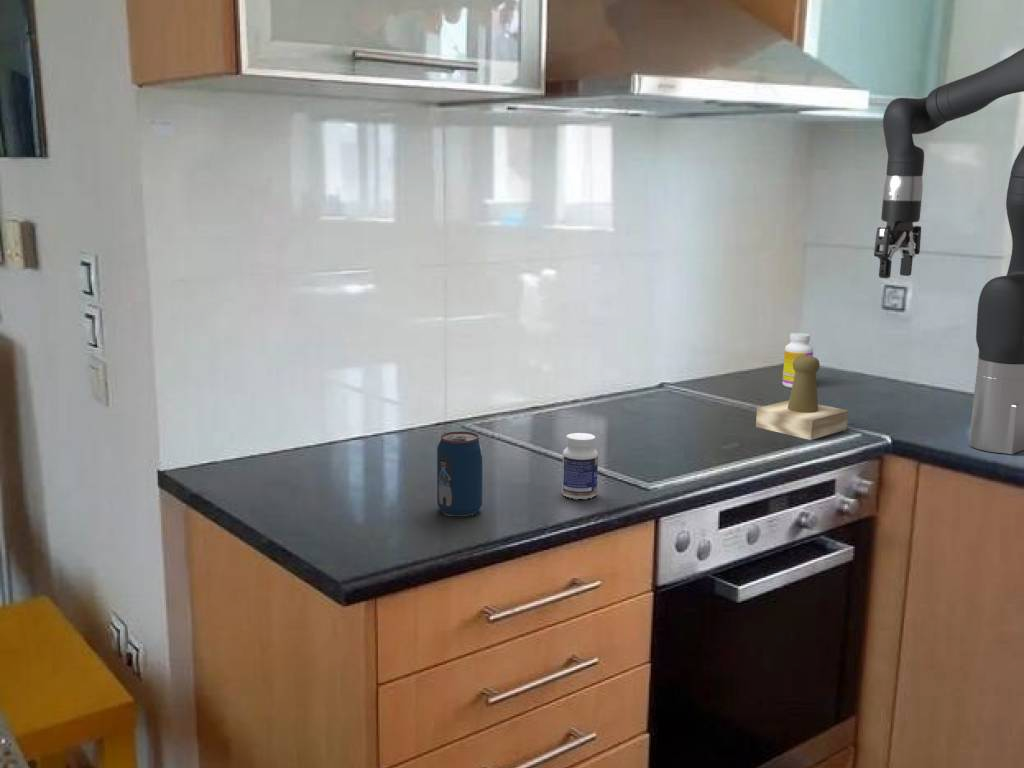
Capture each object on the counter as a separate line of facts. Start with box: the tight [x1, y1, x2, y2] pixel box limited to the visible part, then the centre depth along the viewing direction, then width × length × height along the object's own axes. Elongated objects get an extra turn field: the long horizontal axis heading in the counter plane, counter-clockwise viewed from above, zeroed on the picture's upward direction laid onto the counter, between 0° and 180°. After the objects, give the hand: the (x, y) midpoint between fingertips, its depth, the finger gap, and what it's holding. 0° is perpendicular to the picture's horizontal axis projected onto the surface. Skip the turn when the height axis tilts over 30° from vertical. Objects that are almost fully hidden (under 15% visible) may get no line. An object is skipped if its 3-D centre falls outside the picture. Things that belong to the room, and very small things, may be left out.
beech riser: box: [755, 399, 849, 441], centre depth 212 cm, size 13×13×4 cm
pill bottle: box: [561, 432, 599, 500], centre depth 168 cm, size 6×6×10 cm
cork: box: [788, 356, 820, 413], centre depth 211 cm, size 6×6×11 cm
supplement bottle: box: [782, 332, 814, 389], centre depth 251 cm, size 7×7×13 cm
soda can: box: [436, 431, 483, 517], centre depth 159 cm, size 7×7×12 cm
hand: (895, 276), depth 218 cm, fingers open, 8 cm apart
